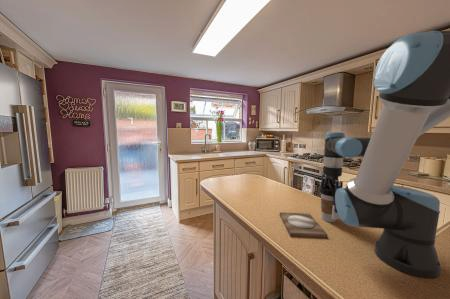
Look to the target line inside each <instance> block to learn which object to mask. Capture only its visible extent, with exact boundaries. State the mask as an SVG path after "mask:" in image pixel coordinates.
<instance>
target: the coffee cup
mask: <svg viewBox="0 0 450 299" xmlns="http://www.w3.org/2000/svg"><path fill="white" fill-rule="evenodd" d="M320 191H321V192H320V205H321V208H320V209H321V210H320V212H321V214H320V215H321V219H322V221H325V222H326V223H336V221H337V219H332V209H333V203H334V200H333V195H332V190H331V189H330V187H321V190H320Z"/></svg>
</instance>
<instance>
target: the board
mask: <svg viewBox="0 0 450 299" xmlns="http://www.w3.org/2000/svg"><path fill="white" fill-rule="evenodd" d="M279 217H280V219H281V221H282V223H283V225H284V227H285V229H286V231H287V233H288V235H289V237H304V238H322V239H323V238H324V239H327V238H328V233H327V232H326V231H325V229H323V227H322V226H321V225H320V224H319V223H318V222H317V220H316V219H315V218H314V217H313V215H311V213H308V212H307V213H304V212H281V211H280V212H279Z"/></svg>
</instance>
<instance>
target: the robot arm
mask: <svg viewBox="0 0 450 299" xmlns="http://www.w3.org/2000/svg"><path fill="white" fill-rule="evenodd" d="M373 79H374V80H373V82H372V83H373V87H374V89H375V90H376V91H377V92H378V99H379V100H380V101H381V104H382V107H381V110H380V113H379V114H378V118H377V120H376V122H375V125H374V128H373V131H372V134H371V137H350V136H349V137H347V136H346V134H345V132H342V131H327V132H326V133H325V137H324V138H325V139H324V150H323V152H324V153H323V161H322V162H323V164H322V174H321V181H320V186H319V189H318V192H319V193H321V191H320V190H321V187H330V189H331V190H332V195H333V200H334V203H333V209H332V219H336V220H340V221H342V223H343V224H345V225H347V226H352V227H356V228H372V229H373V228H374V229H383V231H382V232H381V234H380V236H379V238H378V240H377V241H376V242H375V245H374V253H375V254H376V256H377V257H378V258H379V259H380V260H381V261H383V263H385V264H387V265H389V266H390V267H392V268H394V269H396V270H398V271H400V272H403V273H405V274H409V275H412V276H415V277H419V278H424V279H425V278H426V279H427V278H428V279H434V278H437V277H439V276H440V274H441V270H442V267H441V266H442V265H441V262H440V261H439V256H438V253H437V250H436V246H435V245H436V244H435V243H436V237H437V230H438V223H439V218H440V213H441V210H440V206H441V204H440V203H441V202H440V199H439V198H438V197H437V196H436V195H433V194H431V193H428V192H425V191H422V190H418V189H416V188H415V189H414V188H412V187H407V186H403V185H402V186H401V185H395V183H396V181H397V179H398V177H399V175H400V174H401V171H402V169H403V167H404V164H405V163H406V161H407V160H408V157H409V155H410V153H411V151H412V149H413V147H414V145H415V144H416V142H417V140H418V138H419V137H420V136H422V135H423V134H425V133H427V132H428V131H430V130H431V129H433V128H435V127H436V126H438V125H439V124H441V123H443V122H444V121H446V120H447V119H449V118H450V30H429V31H423V32H413V33H408V34H406V35H403V36H402V37H400V38H399V39H397V40H395V41H394V42H393V43H392V44H391V45H390V46H388V48H387V49H386V50H385V51H384V53H383V54H382V55H381V57H380V59H379V60H378V62H377V65H376V67H375V69H374V73H373ZM355 157H357V158H362V160H361V163H360V166H359V168H358V171H357V173H356V176H355V177H354V178H351V179H349V180H348V181H347V184H346V186H345V188H344V187H343V180H342V181H339V177H341V176H342V175H343V164H344V163H343V162H344V158H350V159H351V158H355ZM319 208H320V209H321V204H320V207H319Z"/></svg>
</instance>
